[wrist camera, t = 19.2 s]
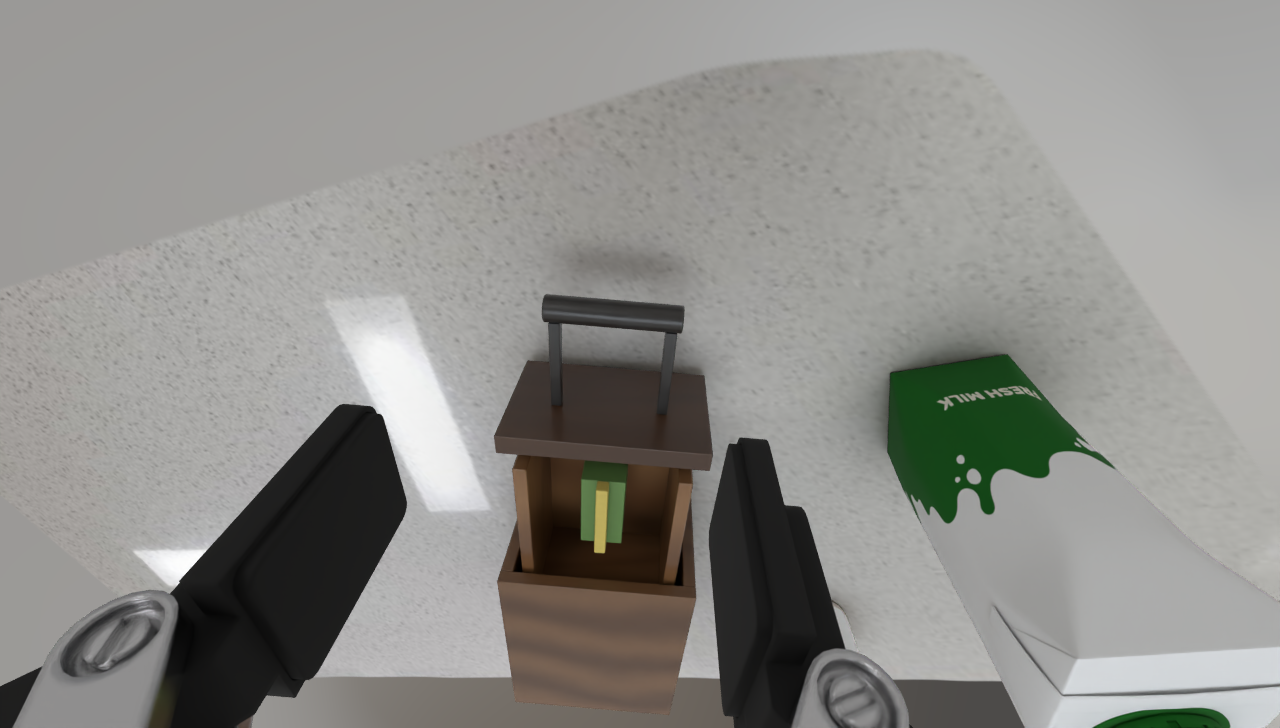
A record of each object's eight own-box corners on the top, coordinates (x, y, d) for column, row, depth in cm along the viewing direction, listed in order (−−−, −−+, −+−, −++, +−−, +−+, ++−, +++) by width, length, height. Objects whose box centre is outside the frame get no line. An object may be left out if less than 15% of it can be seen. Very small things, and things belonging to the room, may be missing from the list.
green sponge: (591, 480, 36) (578, 551, 31) (592, 420, 33) (578, 489, 28) (626, 483, 36) (620, 555, 31) (631, 424, 33) (625, 493, 28)
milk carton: (873, 462, 36) (1049, 824, 19) (875, 361, 31) (1109, 724, 15) (1004, 445, 35) (1317, 821, 18) (1026, 336, 30) (1479, 708, 13)
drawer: (520, 260, 28) (479, 322, 22) (721, 278, 28) (736, 343, 22) (538, 519, 40) (514, 605, 34) (677, 531, 40) (679, 619, 34)
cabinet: (530, 475, 39) (496, 581, 31) (690, 489, 39) (696, 598, 31) (539, 596, 48) (515, 702, 40) (669, 607, 48) (669, 715, 40)
